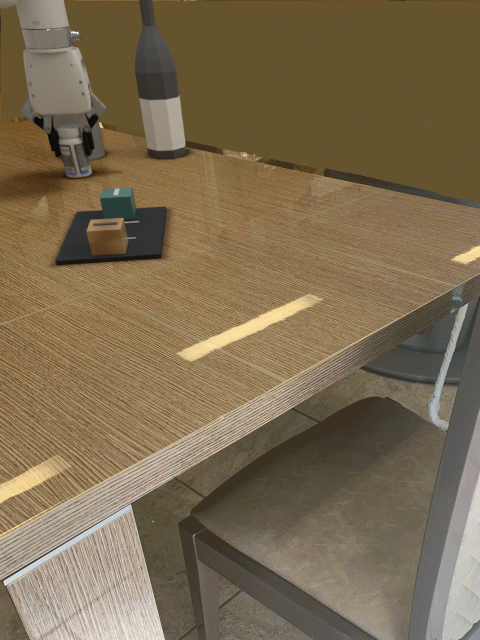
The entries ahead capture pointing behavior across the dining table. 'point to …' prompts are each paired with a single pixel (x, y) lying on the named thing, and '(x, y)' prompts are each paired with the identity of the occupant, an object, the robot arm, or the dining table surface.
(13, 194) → the dining table surface
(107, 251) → the maple block
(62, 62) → the robot arm
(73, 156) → the pill bottle
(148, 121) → the wine bottle
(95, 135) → the cup
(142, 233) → the mat
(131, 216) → the teal block
